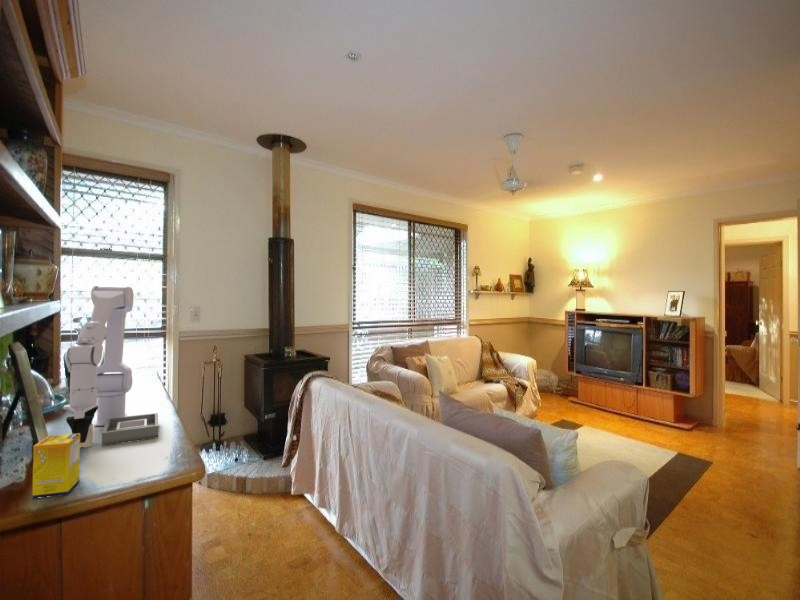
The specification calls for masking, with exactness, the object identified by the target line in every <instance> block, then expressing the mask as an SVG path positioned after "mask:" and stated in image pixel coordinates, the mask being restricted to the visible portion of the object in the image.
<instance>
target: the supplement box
mask: <svg viewBox="0 0 800 600" xmlns="http://www.w3.org/2000/svg"><path fill="white" fill-rule="evenodd" d="M32 447H33V448H32V449H33V453H32V454H33V455H32V457H33V458H32V499H33V498H38V497H47V496H56V497H60V496H59V495H63V496H68V495H69V494H70V493H72V492H71V491H73V490H74V489H75V487H76V486H77V485H78V484H80V475H81V474H80V472H81V471H80V470H81V469H80V468H81V467H80V466H81V448H80V433H78V434H72V433H70V434H67V433H66V434H56V435H55V434H54V435H53V434H52V435H47V436H46V437H44V438H43V439H41V440H40V441H38V442H37V443H35V444H34V445H33V446H32Z"/></svg>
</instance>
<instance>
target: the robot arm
mask: <svg viewBox="0 0 800 600" xmlns="http://www.w3.org/2000/svg"><path fill="white" fill-rule="evenodd" d="M90 298H91V302H92V304H93V310H92V313H91V318H90V320H89V321H88V322H86V323H84V324H83V326H82V328H81V330H80V332H79V335H78V337H77V338H76V342H75V343H74V344H73V345H71V346H69V347H68V348H67V351H66V354H65V355H66V356H65V360H66V361H65V362H66V365H67V371H68V373H70V376H69V379H70V381H69V404H64V406H63V410H69V411H71V412H72V413H73V416H67V417H66V419H65V421H66V423H67V424H68V426H69V427H70V430H71V434H78V433H80V443H84V442H85V441H86V438H87V434H88V429H89V426H90V424H93V419H94V418H95V414H96V413H97V414H96V416H97V417H96V420H95V423H94V424H93V427H102V426H105V423H106V420H107V419H110V418H119V417H127V416H128V413H126V393H129V392H130V390H131V389H132V386H133V375H132V373H133V371H132V368H131V367H130V366H128V365H126V364H125V363H123V357H124V355H123V353H124V341H125V330H126V329H125V328H126V317H127V313H130V312H132V311H133V307H134V298H135V297H134V290H133V288H132V286H130V285H107V284H106V285H105V284H103V285H102V284H95V285H93V287H92V289H91V291H90ZM104 341H105V344H104V347H103V343H104ZM103 348H104V349H103ZM103 350H104V358H103ZM102 358H103V364H102V365H100V366H99V367H98V365H99V364H100V363H101V360H102Z"/></svg>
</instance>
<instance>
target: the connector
mask: <svg viewBox="0 0 800 600" xmlns="http://www.w3.org/2000/svg"><path fill="white" fill-rule="evenodd" d="M93 436H94V424H93V423H92V424H90V426H89V429H88V434H87V438H86V441H85V442H84V443H80V449H82V448H81V447H84V448H90V447H89V446H92V444H93V441H94V439H93V438H94V437H93Z"/></svg>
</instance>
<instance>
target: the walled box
mask: <svg viewBox="0 0 800 600" xmlns="http://www.w3.org/2000/svg"><path fill="white" fill-rule="evenodd" d="M159 425H160V424H159V414H158V412H155V413H146V414H137V415H130V416H129V415H127V417H119V418H110V419H107V420H106V423H105V425H104V427H103V429H102V430H103V431H102V434H101V446H102V447H103V445H105V446H111V445H110V444H112V445H117V444H116V443H119V444H123V443H122V442H125V443H129V442H128V441H132V442H138V441H137V440H139V441H143V440H142V439H146V440H150V439H149V438H153V439H156V438H155V437H158V438H159Z"/></svg>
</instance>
